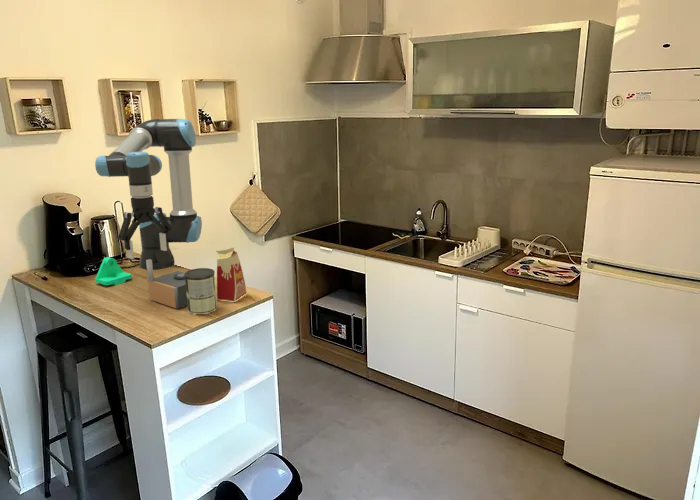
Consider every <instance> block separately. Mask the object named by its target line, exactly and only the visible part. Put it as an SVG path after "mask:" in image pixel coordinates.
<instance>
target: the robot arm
mask: <svg viewBox="0 0 700 500" xmlns="http://www.w3.org/2000/svg"><path fill="white" fill-rule="evenodd" d="M196 139H197V137H196V132H195V129H194V126H193V124H192V122H191V121H190V120H189V119H184V118H154V119H153V118H152V119H149V120H145V121H143V122H140V124H138V125H135V126H134V127H133V128H132V129H131V130H130V131H129V133H128V136H127V137H126V138H125V139H124V140H123V141H122V142H121V143H120V144H119V145H118V146H117V147H116V148H115V149H114V150H113V151H112V152H111V153H110V154H109V155H99V156H97V157H96V159H95V162H94V166H95V170H96V173H97V174H98V175H99V176H100V177H108V178H111V177H112V178H113V177H114V178H116V177H127V178H128V186H129V195H130V205H131V209H132V212H124V213H123V222H122V225H121V227H120V230H119V234H118V237H117V240H119V241H123V245H124V246H123V247H124V250H125V251H126V252H127V254H126V255H127V258H128V259H130V260H134V259H135V251H134V246H133V245H134V244H133V240H132V239H131V238H132V237H134V236H133V235H134V234H135V232H136V231H137V228H138V227H139V235H140V243H141V253H140V258H139V267H140V268H141V269H145V270H147V265H146V260H149V259H151V260H152V266H153V270H160V269H165V268H169V267H172V266H173V265H175V263H176V262H175V257H174V255H173V253H172V250H171V248H170V243H187V244H188V243H195V242H197V241H199V239H200V238H201V232H202V229H203V228H202V226H203V221H202V220H203V219H202V218H201V216H199V215H198V213H197V211H196V210H195V209H194V206H193V193H192V181H191V180H192V179H191V169H190V168H191V167H190V154H191V152H193V147H195V146H196V143H197V142H196V141H197V140H196ZM152 147H153V148H154V147H158V148H160V147H161V148H163V152H164V153H165V154H166V155H168V168H169V179H170V180H169V181H170V192H171V202H172V203H171V204H172V210H171V211H170V212H169V216H167V214H166V212H163V207H160V206H155V201H154V196H153V195H154V193H153V181H152V177H154V176H156V175H158V174H159V173H160V172H161V170H162V168H163V163H162V160H161V159H160V157H158V156H157V155H154V154H149V153H148V152H146V151H145V150H147V149H149V148H152ZM154 206H155V207H154Z"/></svg>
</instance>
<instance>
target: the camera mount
mask: <svg viewBox="0 0 700 500" xmlns="http://www.w3.org/2000/svg"><path fill="white" fill-rule="evenodd" d="M130 279H133V275H132V273H130V272H125V271H124V270H123V269H122V268H121V267H120V265H119V264H118V262H117V260H116V258H113V257H109V256H106V257H104V258H103V260H102V262H101V264H100V266H99V270H98V272H97V274H96V276H95V283H97V284H101V285H103V286H110V285H113V286H119V285H121V284H125V283H126V281H127V280H130Z"/></svg>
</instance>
